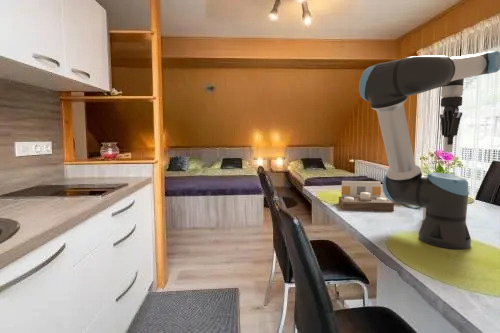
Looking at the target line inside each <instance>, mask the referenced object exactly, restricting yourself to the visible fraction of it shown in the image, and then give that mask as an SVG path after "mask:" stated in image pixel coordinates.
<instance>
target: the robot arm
mask: <svg viewBox="0 0 500 333" xmlns="http://www.w3.org/2000/svg"><path fill="white" fill-rule="evenodd" d="M499 71H500V51H498V50H493V51H486V52H483V53H476V54H474V53H473V54H466V55H461V56H451V57H450V56H447V55H443V54H441V55H417V56H416V55H414V56H407V57H404V58H401V59H395V60H391V61H386V62H380V63H376V64H374V65H370V66H369V67H367V68H366V69H364V71H363V72H362V74H361V76H360V78H359V84H358V93H359V94H360V95H359V96H360V97H361V98H362V99H363V100H364V101H366V102H369V104H370V108H371V109H372V110H374V111H375V112H376V114H377V118H378V122H379V126H380V128H379V129H380V131H381V137H382V140H383V144H384V148H385V155H386V160H387V162H388V163H387V164H388V167H389V168H388V170H387V171H386V174H385V175H384V177H383V179H382V184H381V185H382V186H381V187H382V191H383V193H384V196H385V198H387V199H389V200H390V201H392V202H393V203H397V204H401V205H403V204H404V205H409V206H413V207H418V208H422V209H423V208H426V216H425V219H424V220H423V222H422V223H421V226H420V228H419V230H418V239H419V240H420V241H422V242H424V243H425V244H427V245H431V246H435V247H440V248H444V249H452V250H453V249H454V250H463V249H468V248H471V246H472V245H471V243H472V238H471V235H470V232H469V228H468V226H467V213H468V212H467V210H468V203H469V202H468V200H469V194H470V191H469V182H468V180H467V179H465V178H464V177H461V176H459V175H456V174H450V173H443V172H442V173H441V172H437V171H436V172H429V173H428V175H423V173H422V169H421V166H419V165H417V164H416V163H415V156H414V151H413V147H412V142H411V136H410V131H409V126H408V125H409V124H408V121H407V115H406V110H405V103H406V102H407V101H408V99H409V98H408V97H410V96H414V95H419V94H422V93H425V92H428V91H429V92H430V91H432V90H435V89H438V88H441V92H440V93H441V95H440V96H441V99H440V107H442V108H443V111H442V114H439V118H440V129H441V130H440V131H441V132H440V133H441V136H443V138H444V141H443V142H444V143H443V153H453V149H454V147H453V145H454V138H455V137H457V136H458V131H459V126H460V123H461V119H462V116H463V112H460V111H459V107H461V106H463V94H464V90H465V89H464V83H465V82H464V80H465V79H467V78H471V77H472V78H473V77H476V76H481V75H490V74H492V73H493V74H494V73H497V72H499Z"/></svg>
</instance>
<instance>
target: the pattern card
mask: <svg viewBox="0 0 500 333" xmlns="http://www.w3.org/2000/svg"><path fill="white" fill-rule="evenodd" d="M381 183H382V182H381V181H375V180H373V181H372V180H371V181H370V180H368V181H365V180H364V181H362V180H359V181H358V180H342V181H341V195H340V197H360V193H361V192H368V193H370V197H374V198H379V197H380V198H381V195H382V186H381V185H382V184H381Z"/></svg>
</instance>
